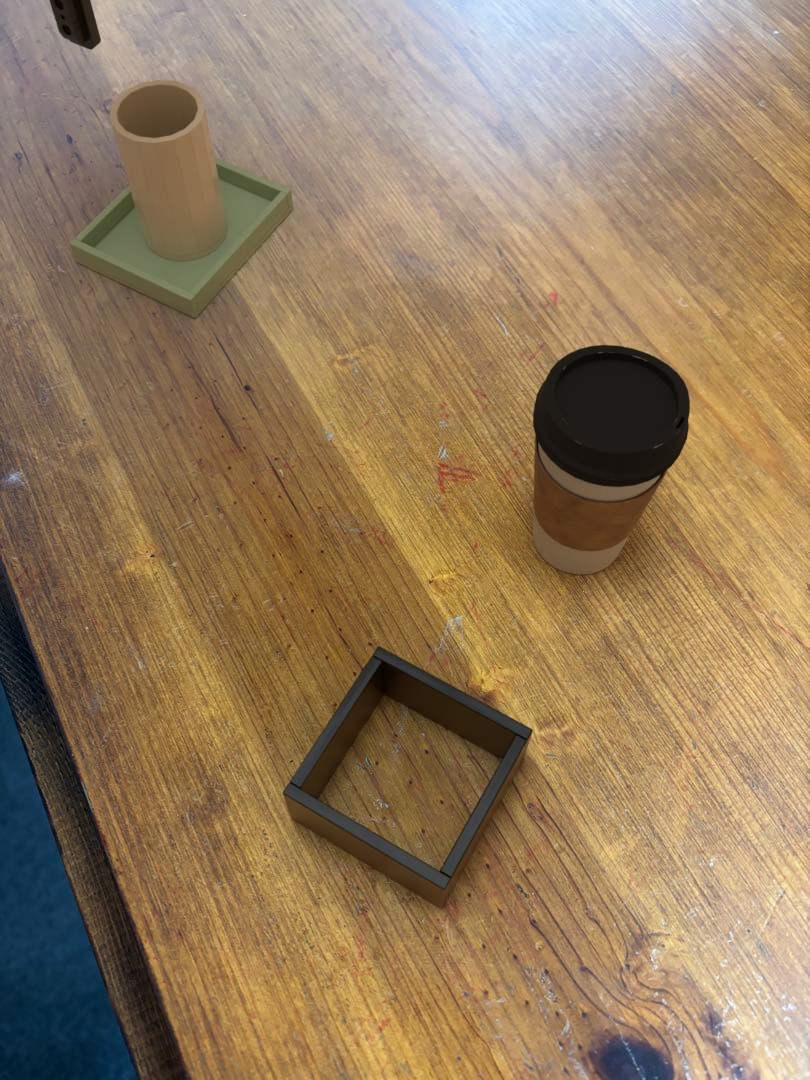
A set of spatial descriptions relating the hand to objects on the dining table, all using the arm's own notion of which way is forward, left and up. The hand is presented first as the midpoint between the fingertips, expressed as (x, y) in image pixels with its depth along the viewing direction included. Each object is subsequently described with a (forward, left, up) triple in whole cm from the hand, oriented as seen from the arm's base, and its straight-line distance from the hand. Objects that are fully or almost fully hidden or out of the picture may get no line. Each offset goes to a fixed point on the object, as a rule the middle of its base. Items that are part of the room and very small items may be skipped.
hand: (128, 5), depth 65 cm
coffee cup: (-8, -38, -20) cm, 43 cm away
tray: (+1, 0, -20) cm, 20 cm away
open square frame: (-28, -37, -20) cm, 50 cm away
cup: (+1, 0, -19) cm, 19 cm away
